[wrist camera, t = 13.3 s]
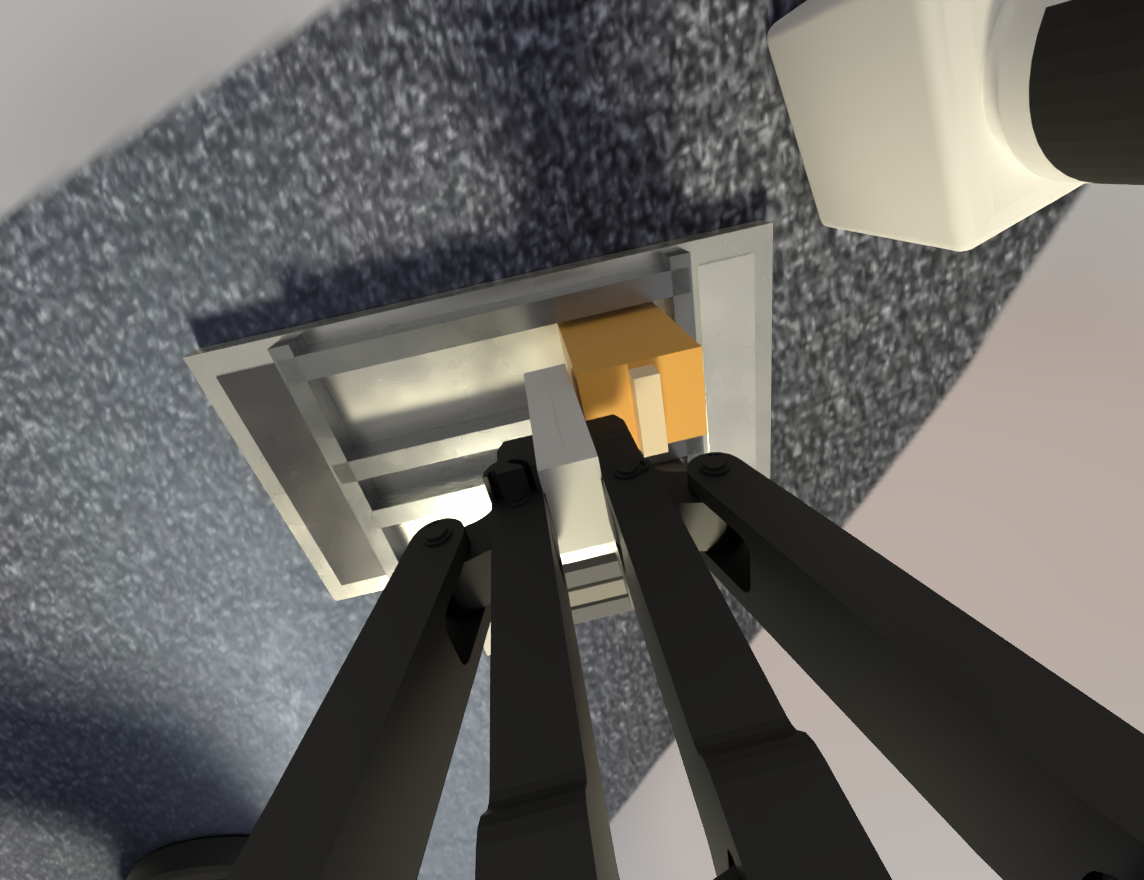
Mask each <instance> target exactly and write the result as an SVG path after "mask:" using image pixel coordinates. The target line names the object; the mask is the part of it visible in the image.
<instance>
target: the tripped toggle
mask: <svg viewBox="0 0 1144 880" xmlns="http://www.w3.org/2000/svg"><path fill="white" fill-rule="evenodd" d="M557 325H558V330H559V335H560V340H561V344H562V349H563V354H564V358H565V363H566V368H567V372H568V374H569V377H570V380H571V383H572V386H573V388H574V391H575V394H576V397H577V400H578V402H579V405H580V408H581V411H582V414H583V416H584V419H585V421H587V420H591V419H595V418H599V417H604V416H608V415H612V414H614V415H616V416H618V417H620V418H621V419H623V420H624V421H625V423H626V425H627V427H628V430H629V431H630V433H631V435H632V437H633V439H634V441H635V443H636V445H637V447H638V448H639V450H641V451H642V453H643V455H644V457H649V456H653V455H657V454H661V453H666V452H668V443H673V442H677V441H681V440H685V439H690V438H694V437H698V436H702V435H706V434H707V419H706V403H705V388H704V372H703V356H702V346H701V345H700V344H699V343H698V342H696V341H695V340H694V339H693V338H692V337H691V336H690V335H689V334H688V333H686V332H685V331H684V330H683V329H682V328H681V327H680V326H679V325H678V324H676V323H675V322H674V321H673V320H672V319H671V318H670V317H669V316H668V315H666V314H665V313H664V312H663V311H662V310H661V309H660V308H659V307H658V306H656V305H655V304H654V303H653V302H647V303H643V304H639V305H634V306H630V307H626V308H621V309H617V310H613V311H608V312H604V313H600V314H595V315H591V316H587V317H582V318H578V319H574V320H569V321H565V322H561V323H557Z"/></svg>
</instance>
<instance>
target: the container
mask: <svg viewBox="0 0 1144 880" xmlns="http://www.w3.org/2000/svg"><path fill="white" fill-rule="evenodd" d="M767 44H768V48H769V51H770V54H771V58H772V61H773V64H774V68H775V71H776V74H777V78H778V81H779V84H780V88H781V91H782V94H783V98H784V101H785V104H786V107H787V111H788V114H789V117H790V121H791V124H792V127H793V131H794V134H795V137H796V141H797V144H798V147H799V151H800V154H801V157H802V161H803V164H804V167H805V171H806V174H807V177H808V181H809V184H810V187H811V190H812V194H813V197H814V200H815V204H816V207H817V210H818V214H819V217H820V220H821V222H822V223H823V225H824V226H828V227H832V228H838V229H843V230H848V231H854V232H859V233H864V234H869V235H875V236H880V237H885V238H891V239H896V240H901V241H907V242H912V243H917V244H923V245H928V246H933V247H938V248H944V249H949V250H954V251H960V252H961V251H967V250H970V249H973V248H974V247H976V246H978V245H979V244H981V243H983V242H985V241H986V240H988V239H990V238H991V237H993V236H995V235H997V234H998V233H1000V232H1002V231H1004V230H1005V229H1007V228H1009V227H1010V226H1012V225H1014V224H1016V223H1017V222H1019V221H1021V220H1022V219H1024V218H1026V217H1028V216H1029V215H1031V214H1033V213H1034V212H1036V211H1038V210H1040V209H1041V208H1043V207H1045V206H1046V205H1048V204H1050V203H1052V202H1053V201H1055V200H1057V199H1058V198H1060V197H1062V196H1064V195H1065V194H1067V193H1069V192H1070V191H1072V190H1074V189H1076V188H1077V187H1079V186H1081V185H1082V184H1084V183H1101V184H1131V185H1144V0H807V1H805V2H804V3H802V4H801V5H800V6H798V7H797V8H795V9H794V10H792V11H791V12H790V13H788V14H787V15H785V16H784V17H782V18H781V19H780V20H778V21H777V22H775V23H774V24H773V26H772V27H771V28H770V29H769V31H768V34H767Z"/></svg>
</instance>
